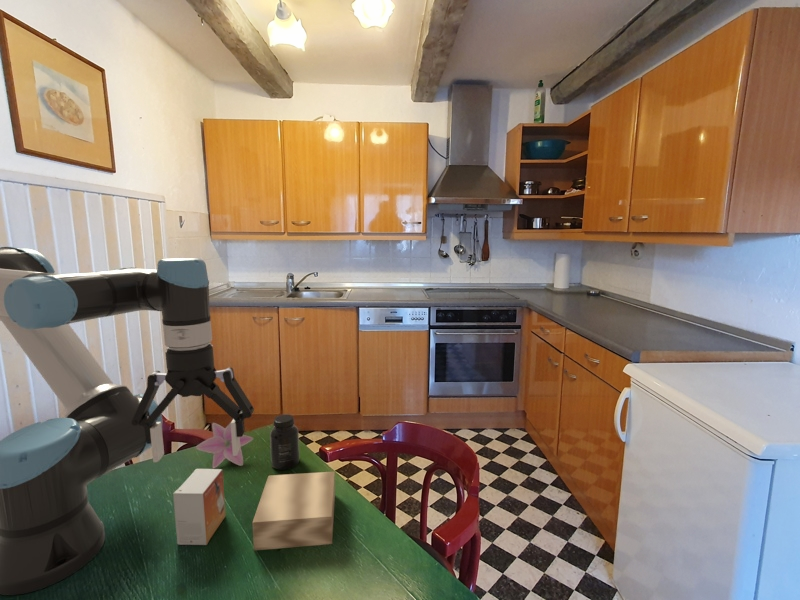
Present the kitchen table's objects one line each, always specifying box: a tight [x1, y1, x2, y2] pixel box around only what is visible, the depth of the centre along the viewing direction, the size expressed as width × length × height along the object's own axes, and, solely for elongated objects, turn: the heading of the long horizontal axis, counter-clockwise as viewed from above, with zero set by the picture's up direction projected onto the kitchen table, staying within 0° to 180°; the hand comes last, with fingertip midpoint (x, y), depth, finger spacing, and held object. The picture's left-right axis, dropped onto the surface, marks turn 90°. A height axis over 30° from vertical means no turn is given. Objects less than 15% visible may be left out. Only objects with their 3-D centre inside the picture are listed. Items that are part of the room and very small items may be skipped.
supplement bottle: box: [269, 413, 300, 471], centre depth 97 cm, size 7×7×12 cm
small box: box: [172, 468, 226, 546], centre depth 74 cm, size 8×6×10 cm
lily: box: [195, 422, 254, 469], centre depth 99 cm, size 12×12×10 cm
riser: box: [251, 471, 336, 551], centre depth 78 cm, size 14×14×6 cm
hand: (198, 455), depth 73 cm, fingers open, 13 cm apart
